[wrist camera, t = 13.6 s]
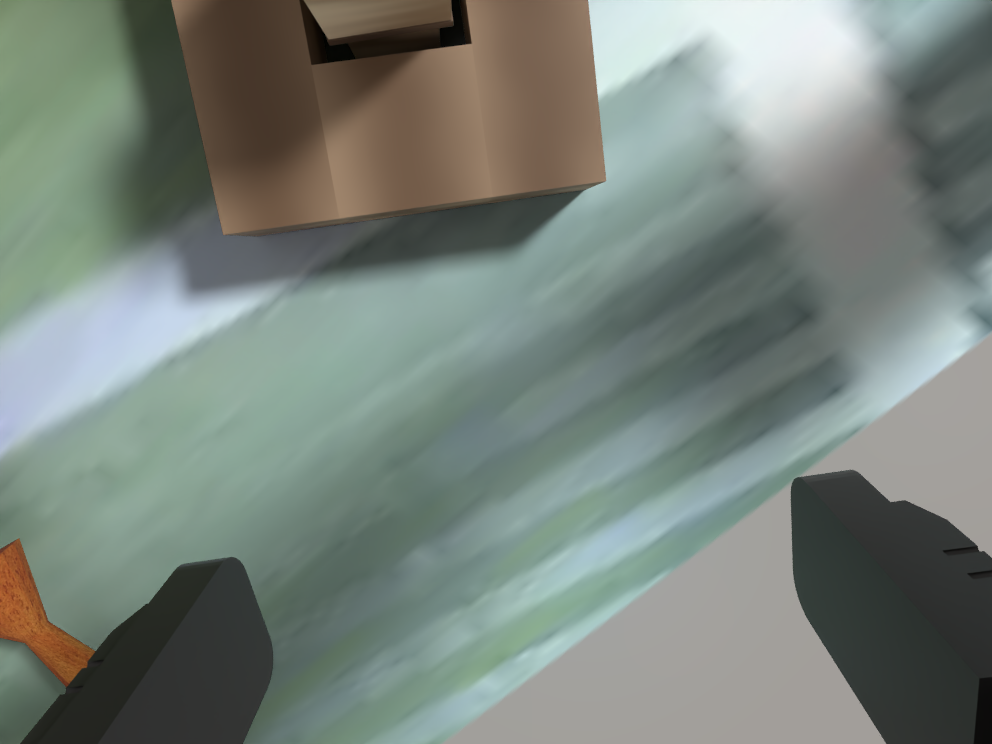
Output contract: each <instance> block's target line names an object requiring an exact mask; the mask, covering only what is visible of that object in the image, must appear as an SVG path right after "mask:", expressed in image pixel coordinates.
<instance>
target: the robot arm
mask: <svg viewBox="0 0 992 744" xmlns="http://www.w3.org/2000/svg"><path fill="white" fill-rule="evenodd" d="M791 516H792V552H793V575H794V581H795V587H796V591H797V594H798V598H799V601H800V603H801V606H802V608H803V610H804V613H805V615H806V617H807V619H808V620H809V622H810V624H811V625H812V627H813V628H814V630H815V632H816V633H817V635H818V636H819V638H820V639H821V641H822V643H823V644H824V646H825V647H826V649H827V650H828V652H829V654H830V655H831V656H832V658H833V660H834V662H835V663H836V665H837V666H838V668H839V669H840V671H841V673H842V674H843V676H844V677H845V679H846V681H847V682H848V684H849V685H850V687H851V688H852V690H853V692H854V693H855V695H856V696H857V698H858V700H859V701H860V703H861V704H862V706H863V707H864V709H865V711H866V712H867V714H868V715H869V717H870V718H871V720H872V722H873V723H874V725H875V726H876V728H877V730H878V731H879V733H880V734H881V736H882V737H883V739H884V741H885V742H886V744H992V558H991V557H990V556H989V555H988V554H986V553H985V552H984V551H982V552H980V551H979V550H978V546H977V545H976V544H975V543H974V542H972V541H971V540H970V539H969V538H968V537H966V536H965V535H964V534H963V533H962V532H961V531H959V530H958V529H957V528H956V527H955V526H954V525H952V524H951V523H950V522H949V521H948V520H946V519H944V518H942V517H940V516H938V515H936V514H933V513H931V512H929V511H927V510H925V509H923V508H921V507H918V506H916V505H914V504H912V503H910V502H908V501H897V502H890V501H888V499H886V498H885V497H884V496H883V495H882V494H881V493H880V492H879V491H878V490H877V489H876V488H875V487H874V486H872V485H871V484H870V483H869V482H868V481H867V480H866V479H865V478H864V477H863V476H862V475H861V474H859V473H858V472H856V471H854V470H846V471H840V472H832V473H825V474H818V475H811V476H804V477H798V478H795V479H794V481H793V483H792V486H791ZM272 668H273V650H272V644H271V640H270V636H269V633H268V631H267V628H266V625H265V622H264V620H263V617H262V614H261V611H260V609H259V606H258V603H257V600H256V598H255V595H254V592H253V589H252V586H251V584H250V581H249V578H248V575H247V573H246V570H245V568H244V566H243V564H242V563H241V562H240V561H239V560H238V559H237V558H234V557H229V558H222V559H215V560H208V561H201V562H194V563H187V564H183V565H180V566H179V567H178V568H177V569H176V570H175V571H174V572H173V573H172V574H171V576H170V577H169V578H168V580H167V581H166V582H165V583H164V585H163V586H162V587H161V588H160V590H159V591H158V592H157V594H156V595H155V596H154V597H153V599H152V600H151V601H150V602H149V604H146V605H145V606H143V607H142V608H141V609H140V610H138V611H137V612H136V613H135V614H133V615H132V616H131V617H130V618H128V619H127V620H126V621H125V622H123V623H122V624H121V625H120V626H118V627H117V628H116V629H115V630H113V631H112V632H111V633H110V635H109V636H108V637H107V638H106V639H105V641H104V642H103V643H102V644H101V646H100V647H99V648H98V649H97V650H96V652H95V653H94V654H93V655H92V657H91V658H90V659H89V660H88V661H87V668H82V669H81V670H80V671H79V672H78V674H77V675H76V676H75V677H74V679H73V680H72V681H71V682H70V684H69V685H68V686H67V687H66V693H65V694H63V695H60V696H59V697H58V698H57V699H56V701H55V702H54V703H53V704H52V706H51V707H50V708H49V709H48V710H47V712H46V713H45V714H44V715H43V717H42V718H41V719H40V720H39V721H38V723H37V724H36V725H35V726H34V728H33V729H32V730H31V731H30V732H29V734H28V735H27V736H26V737H25V739H24V740H23V741H22V742H21V743H20V744H243V742H244V740H245V737H246V735H247V733H248V731H249V728H250V726H251V724H252V722H253V719H254V717H255V715H256V713H257V710H258V708H259V706H260V704H261V701H262V699H263V697H264V695H265V692H266V690H267V688H268V685H269V683H270V679H271V674H272Z"/></svg>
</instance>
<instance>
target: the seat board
mask: <svg viewBox="0 0 992 744" xmlns="http://www.w3.org/2000/svg"><path fill="white" fill-rule="evenodd" d="M171 2H172V6H173V11H174V15H175V20H176V24H177V29H178V33H179V38H180V42H181V47H182V51H183V56H184V60H185V65H186V69H187V74H188V78H189V83H190V88H191V92H192V97H193V101H194V106H195V110H196V115H197V119H198V124H199V128H200V133H201V137H202V142H203V146H204V151H205V155H206V160H207V164H208V169H209V173H210V178H211V182H212V187H213V191H214V196H215V200H216V205H217V209H218V214H219V218H220V223H221V227H222V232H223V235H239V236H262V235H269V234H276V233H283V232H290V231H297V230H304V229H311V228H319V227H326V226H333V225H340V224H347V223H354V222H361V221H368V220H375V219H382V218H389V217H397V216H404V215H411V214H418V213H425V212H432V211H439V210H446V209H453V208H460V207H467V206H475V205H482V204H489V203H496V202H503V201H510V200H517V199H524V198H531V197H538V196H545V195H552V194H560V193H567V192H574V191H581V190H586V189H588V188H591V187H593V186H595V185H598V184H600V183H603V182H605V181H606V174H605V164H604V155H603V145H602V135H601V125H600V115H599V105H598V95H597V85H596V75H595V65H594V55H593V45H592V35H591V26H590V16H589V6H588V0H460V7H461V14H462V22H463V29H464V36H465V43H466V45H459V46H451V47H444V48H436V49H429V50H421V51H414V52H406V53H399V54H391V55H384V56H376V57H369V58H361V59H354V60H346V61H339V62H331V63H328V61H327V55H326V49H325V44H324V38H323V33H322V29H321V27H320V25H319V24H318V22H317V21H316V19H315V17H314V16H313V14H312V13H311V11H310V9H309V8H308V6H307V5H306V3H305V1H304V0H171Z"/></svg>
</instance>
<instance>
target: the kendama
mask: <svg viewBox="0 0 992 744" xmlns="http://www.w3.org/2000/svg"><path fill="white" fill-rule="evenodd" d="M0 638H4V639H8V640H13V641H18V642H23V643H25V644H26V645H27V646H28V647H29V648H30V649H31V650H32V651H33V652H34V653H35V654H36V655H37V656H38V658H39V659H40V660H41V661H42V662H43V663H44V664H45V665H46V666H47V667H48V668H49V669H50V670H51V671H52V672H53V674H54V675H55V676H56V677H57V678H58V679H59V680H60V681H61V682H62V683H63V684H64V685H65V686H66V687H67V686H68V685H69V684H70V682H71V681H72V680H73V679H74V677H75V676H76V675H77V674H78V672H79V671H80V670H81V669H82V668H87V661H88V660H89V659H90V658H91V657H92V655H93V654H94V653H95V652H96V651H94V650H93V649H91V648H90V647H88V646H86V645H85V644H83V643H82V642H80V641H79V640H77V639H75V638H74V637H72V636H71V635H69V634H67V633H66V632H64V631H63V630H61V629H60V628H58V627H56V626H55V625H53V624H52V623H50V622H49V621H48V619H47V616H46V613H45V610H44V607H43V604H42V602H41V599H40V596H39V593H38V590H37V587H36V585H35V582H34V579H33V576H32V573H31V570H30V568H29V565H28V562H27V559H26V556H25V554H24V551H23V548H22V545H21V542H20V539H17V540H15V541H13V542H12V543H10V544H8V545H7V546H5V547H3V548H1V549H0Z"/></svg>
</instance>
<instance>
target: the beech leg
mask: <svg viewBox="0 0 992 744" xmlns="http://www.w3.org/2000/svg"><path fill="white" fill-rule="evenodd" d="M304 1H305V3H306V5H307V6H308V8H309V9H310V11H311V13H312V14H313V16H314V17H315V19H316V21H317V22H318V24H319V25H320V27H321V29H322V30H323V32H324V33H325V35H326V38H327V42H328V43H329V45H330V46H332V45H338V44H345V43H348V45H349V47H350V49H351V50H352V52H353V54H354V56H355V58H356V59H361V58H369V57H376V56H384V55H391V54H399V53H406V52H414V51H421V50H429V49H436V48H441V43H440V31H439V28H444V27H450V26H453V16H452V10H451V0H304Z"/></svg>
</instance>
